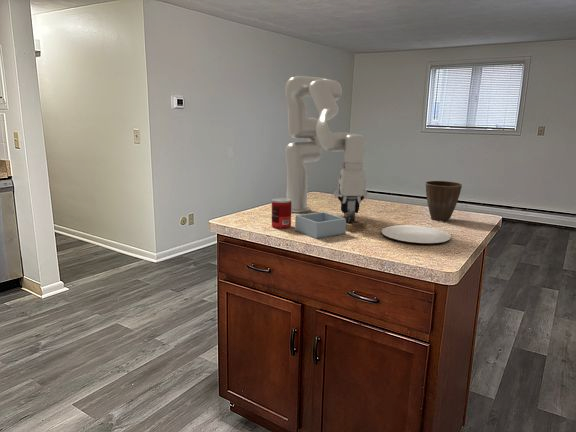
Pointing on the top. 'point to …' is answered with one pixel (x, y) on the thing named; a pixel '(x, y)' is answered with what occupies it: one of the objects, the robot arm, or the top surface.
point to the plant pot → (442, 198)
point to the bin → (320, 225)
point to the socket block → (355, 225)
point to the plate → (416, 234)
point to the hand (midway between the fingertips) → (349, 211)
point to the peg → (350, 208)
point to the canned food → (281, 213)
